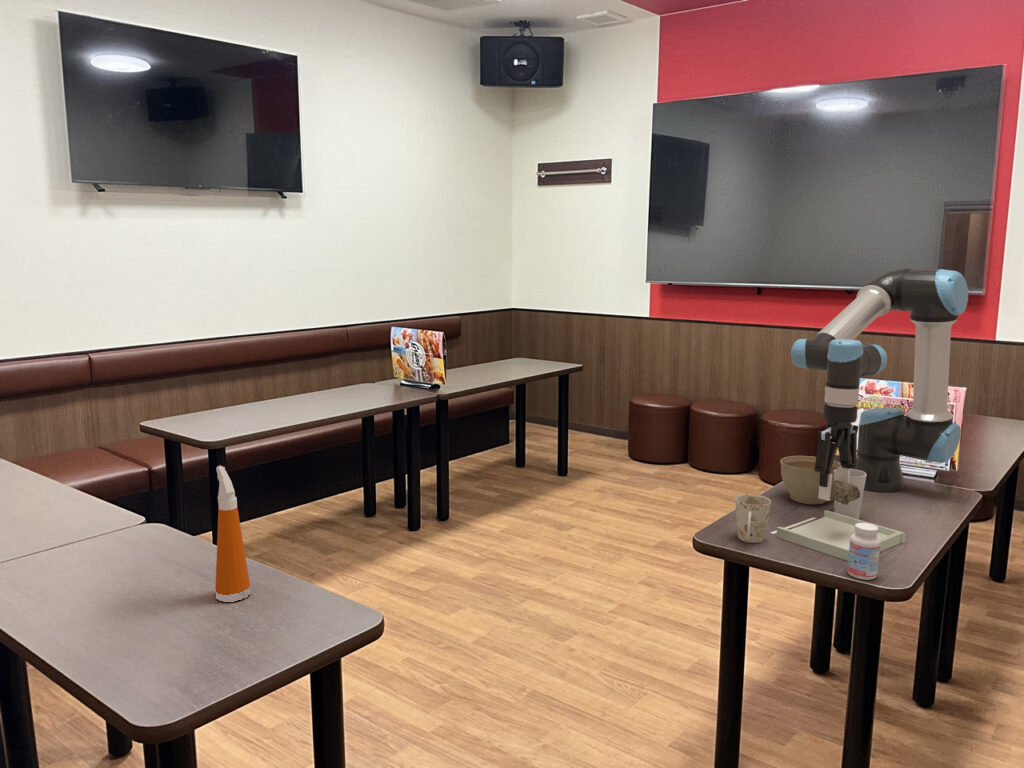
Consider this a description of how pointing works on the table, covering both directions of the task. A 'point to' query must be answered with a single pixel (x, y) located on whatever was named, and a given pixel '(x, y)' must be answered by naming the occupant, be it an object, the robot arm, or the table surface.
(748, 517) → the mug
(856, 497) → the rock
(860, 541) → the pill bottle
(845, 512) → the cup
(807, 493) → the planter bowl
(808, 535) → the white square tray
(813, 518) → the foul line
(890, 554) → the table surface
